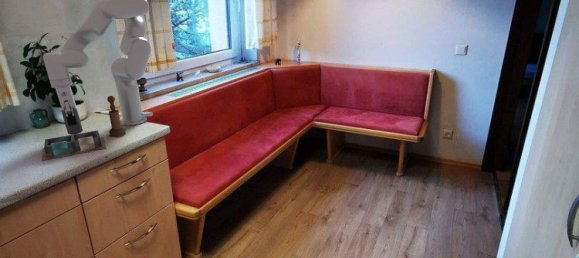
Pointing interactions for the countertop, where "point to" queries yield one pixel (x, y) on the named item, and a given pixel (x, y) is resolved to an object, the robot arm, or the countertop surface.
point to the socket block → (72, 145)
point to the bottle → (73, 128)
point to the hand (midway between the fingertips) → (72, 122)
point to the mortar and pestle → (115, 120)
